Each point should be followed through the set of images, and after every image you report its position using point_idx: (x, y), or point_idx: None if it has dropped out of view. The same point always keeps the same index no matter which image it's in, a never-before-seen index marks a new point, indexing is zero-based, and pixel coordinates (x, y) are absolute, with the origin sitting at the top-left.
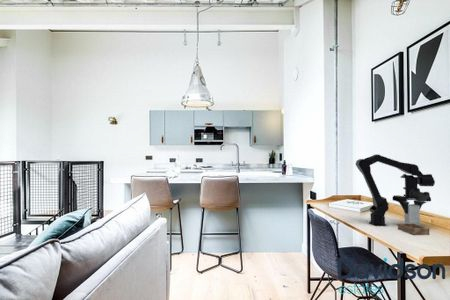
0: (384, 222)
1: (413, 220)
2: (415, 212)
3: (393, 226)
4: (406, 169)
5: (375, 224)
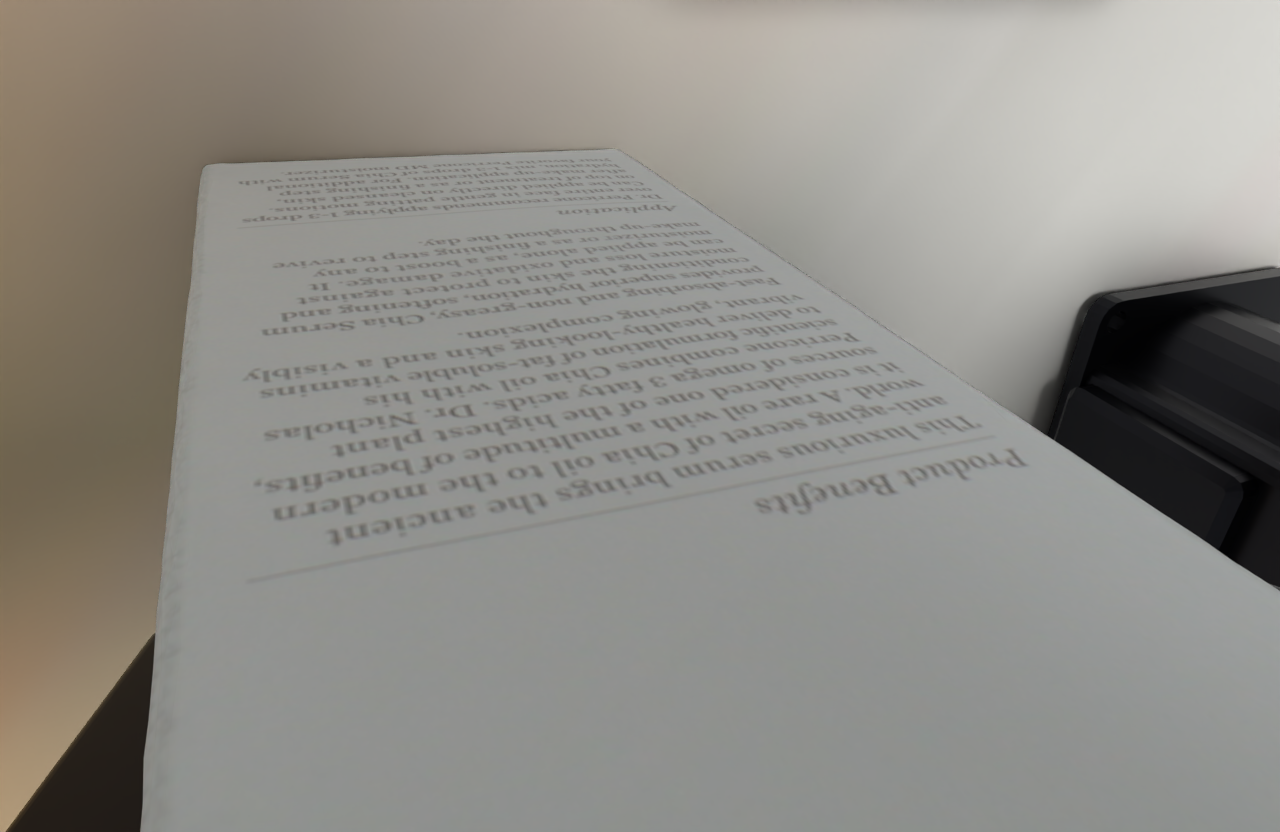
0: (1109, 397)
1: (573, 224)
2: (590, 446)
3: (990, 243)
4: None
5: (1275, 317)
